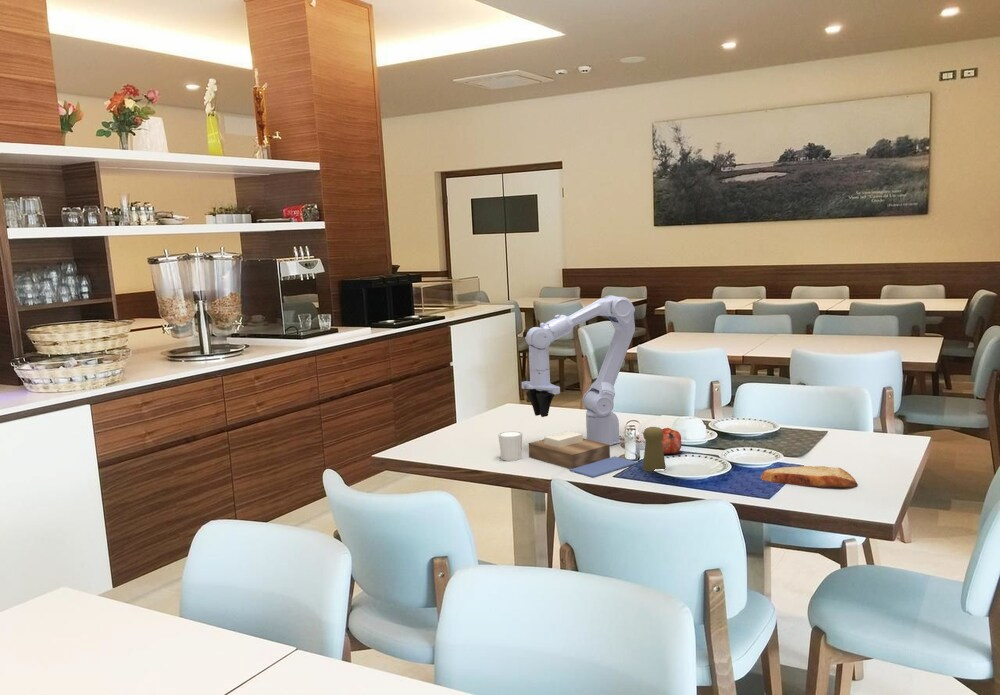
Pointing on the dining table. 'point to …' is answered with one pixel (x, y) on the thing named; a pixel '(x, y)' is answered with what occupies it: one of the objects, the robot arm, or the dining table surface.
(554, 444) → the block
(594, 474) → the mat
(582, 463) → the brown wooden slab
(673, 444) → the pomegranate
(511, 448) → the white cup
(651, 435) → the cork
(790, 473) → the bread slice
